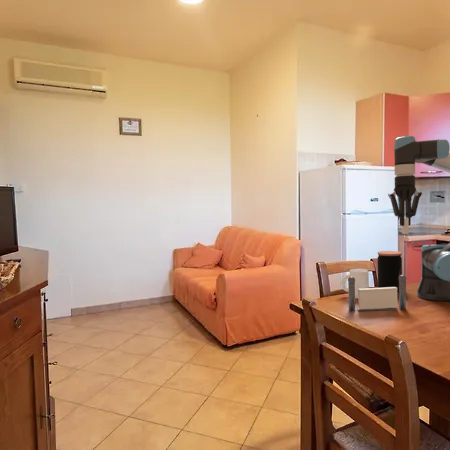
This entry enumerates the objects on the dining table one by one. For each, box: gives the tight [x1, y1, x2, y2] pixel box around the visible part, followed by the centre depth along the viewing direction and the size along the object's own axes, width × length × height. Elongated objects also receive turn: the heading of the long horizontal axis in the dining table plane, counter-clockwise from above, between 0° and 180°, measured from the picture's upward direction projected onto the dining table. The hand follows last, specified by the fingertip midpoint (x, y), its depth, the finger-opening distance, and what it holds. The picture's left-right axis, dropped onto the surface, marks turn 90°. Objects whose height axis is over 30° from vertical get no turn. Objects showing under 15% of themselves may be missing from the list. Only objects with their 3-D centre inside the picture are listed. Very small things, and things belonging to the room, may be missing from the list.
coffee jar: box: [377, 250, 403, 292], centre depth 178 cm, size 11×11×18 cm
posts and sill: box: [347, 274, 407, 312], centre depth 147 cm, size 23×3×14 cm, turn 89°
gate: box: [357, 287, 398, 309], centre depth 147 cm, size 15×2×8 cm, turn 92°
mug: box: [340, 268, 370, 299], centre depth 168 cm, size 8×12×12 cm
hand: (405, 233), depth 151 cm, fingers closed
